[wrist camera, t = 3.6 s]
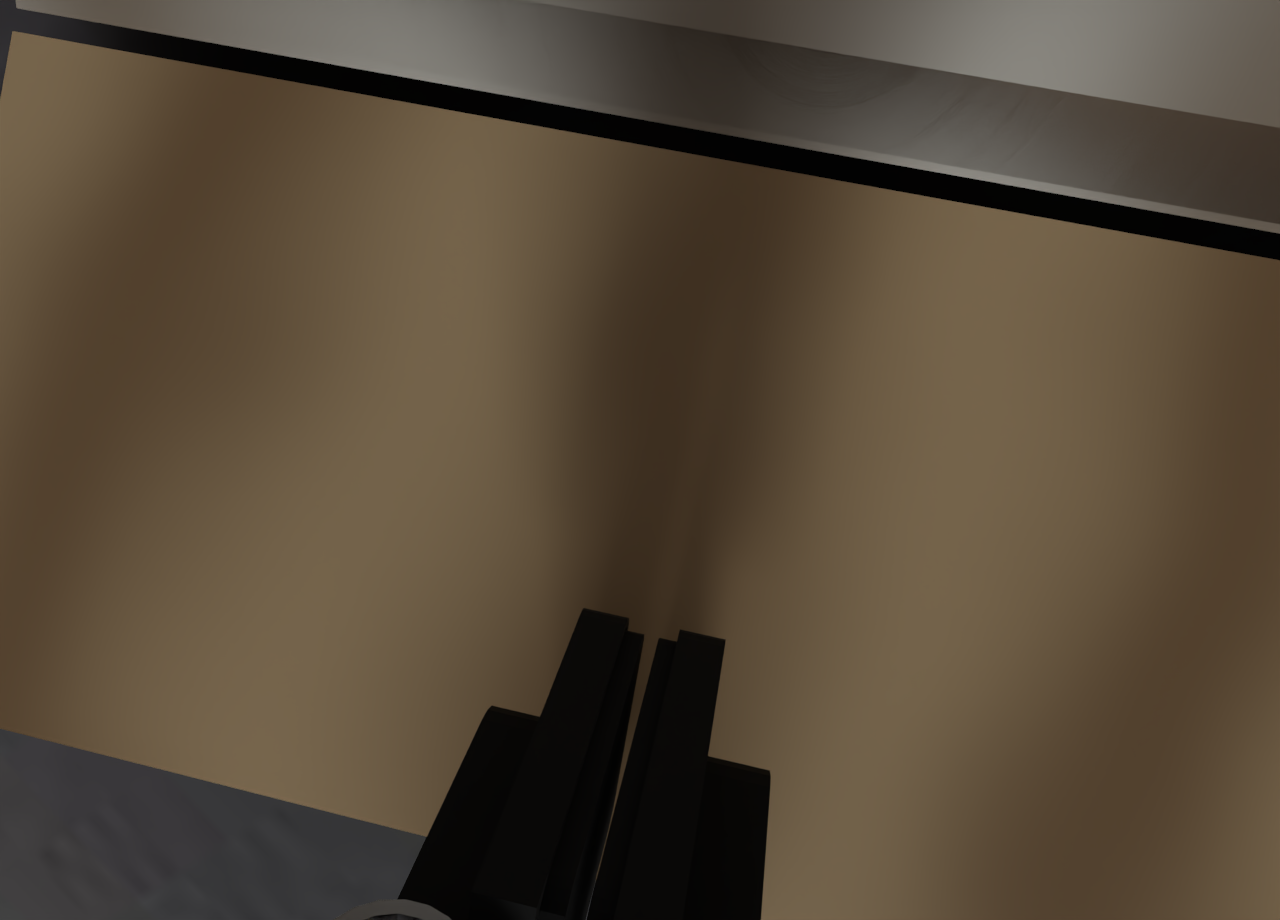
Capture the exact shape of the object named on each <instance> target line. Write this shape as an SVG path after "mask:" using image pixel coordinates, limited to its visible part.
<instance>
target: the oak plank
mask: <svg viewBox="0 0 1280 920" xmlns="http://www.w3.org/2000/svg"><path fill="white" fill-rule="evenodd" d="M583 608H587V609H591V610H596V611H600V612H605V613H609V614H614V615H618V616H622V617H627V618H629V627H628V631H632V632H636V633H640V634H644V642H643V648H642V653H641V659H640V664H639V670H638V675H637V681H636V686H635V692H634V697H633V703H632V708H631V714H630V719H629V725H628V730H627V736H626V741H625V747H624V752H623V758H622V763H621V769H620V774H619V780H618V785H617V791H616V796H615V802H614V807H613V812H612V817H613V813H614V809H615V806H616V802H617V798H618V794H619V790H620V786H621V782H622V778H623V775H624V771H625V767H626V763H627V759H628V755H629V751H630V747H631V744H632V740H633V736H634V732H635V728H636V724H637V720H638V716H639V713H640V709H641V705H642V701H643V697H644V693H645V689H646V685H647V682H648V678H649V674H650V670H651V666H652V662H653V658H654V654H655V651H656V647H657V643H658V639H659V638H663V639H667V640H672V641H676V642H677V639H678V635H679V631H680V629H681V630H685V631H690V632H694V633H699V634H703V635H708V636H712V637H717V638H721V639H726V642H725V649H724V656H723V662H722V668H721V675H720V681H719V688H718V694H717V701H716V707H715V714H714V720H713V727H712V733H711V739H710V746H709V752H708V756H710V757H714V758H719V759H723V760H727V761H731V762H736V763H740V764H744V765H748V766H753V767H757V768H761V769H766V770H770V775H771V783H770V799H769V814H768V828H767V842H766V856H765V870H764V884H763V898H762V912H761V920H1280V260H1275V259H1269V258H1264V257H1258V256H1253V255H1247V254H1242V253H1236V252H1231V251H1225V250H1220V249H1214V248H1209V247H1203V246H1198V245H1192V244H1187V243H1181V242H1176V241H1170V240H1164V239H1159V238H1153V237H1148V236H1142V235H1137V234H1131V233H1126V232H1120V231H1115V230H1109V229H1104V228H1098V227H1093V226H1087V225H1082V224H1076V223H1071V222H1065V221H1059V220H1054V219H1048V218H1043V217H1037V216H1032V215H1026V214H1021V213H1015V212H1010V211H1004V210H999V209H993V208H988V207H982V206H977V205H971V204H966V203H960V202H954V201H949V200H943V199H938V198H932V197H927V196H921V195H916V194H910V193H905V192H899V191H894V190H888V189H883V188H877V187H872V186H866V185H861V184H855V183H849V182H844V181H838V180H833V179H827V178H822V177H816V176H811V175H805V174H800V173H794V172H789V171H783V170H778V169H772V168H767V167H761V166H756V165H750V164H744V163H739V162H733V161H728V160H722V159H717V158H711V157H706V156H700V155H695V154H689V153H684V152H678V151H673V150H667V149H662V148H656V147H651V146H645V145H639V144H634V143H628V142H623V141H617V140H612V139H606V138H601V137H595V136H590V135H584V134H579V133H573V132H568V131H562V130H557V129H551V128H546V127H540V126H534V125H529V124H523V123H518V122H512V121H507V120H501V119H496V118H490V117H485V116H479V115H474V114H468V113H463V112H457V111H452V110H446V109H441V108H435V107H429V106H424V105H418V104H413V103H407V102H402V101H396V100H391V99H385V98H380V97H374V96H369V95H363V94H358V93H352V92H347V91H341V90H336V89H330V88H325V87H319V86H313V85H308V84H302V83H297V82H291V81H286V80H280V79H275V78H269V77H264V76H258V75H253V74H247V73H242V72H236V71H231V70H225V69H220V68H214V67H208V66H203V65H197V64H192V63H186V62H181V61H175V60H170V59H164V58H159V57H153V56H148V55H142V54H137V53H131V52H126V51H120V50H115V49H109V48H103V47H98V46H92V45H87V44H81V43H76V42H70V41H65V40H59V39H54V38H48V37H43V36H37V35H32V34H26V33H21V32H15V31H13V32H12V37H11V43H10V48H9V54H8V59H7V65H6V71H5V76H4V82H3V87H2V93H1V98H0V729H4V730H8V731H12V732H16V733H20V734H24V735H28V736H32V737H35V738H39V739H43V740H47V741H51V742H55V743H59V744H63V745H67V746H71V747H75V748H79V749H83V750H87V751H91V752H95V753H99V754H103V755H106V756H110V757H114V758H118V759H122V760H126V761H130V762H134V763H138V764H142V765H146V766H150V767H154V768H158V769H162V770H166V771H170V772H174V773H177V774H181V775H185V776H189V777H193V778H197V779H201V780H205V781H209V782H213V783H217V784H221V785H225V786H229V787H233V788H237V789H241V790H245V791H248V792H252V793H256V794H260V795H264V796H268V797H272V798H276V799H280V800H284V801H288V802H292V803H296V804H300V805H304V806H308V807H312V808H315V809H319V810H323V811H327V812H331V813H335V814H339V815H343V816H347V817H351V818H355V819H359V820H363V821H367V822H371V823H375V824H379V825H383V826H386V827H390V828H394V829H398V830H402V831H406V832H410V833H414V834H418V835H422V836H426V837H427V835H428V833H429V831H430V829H431V827H432V825H433V823H434V821H435V818H436V816H437V814H438V812H439V810H440V808H441V806H442V804H443V801H444V799H445V797H446V795H447V793H448V791H449V789H450V787H451V784H452V782H453V780H454V778H455V776H456V774H457V772H458V769H459V767H460V765H461V763H462V761H463V759H464V757H465V755H466V752H467V750H468V748H469V746H470V744H471V742H472V740H473V738H474V735H475V733H476V731H477V729H478V727H479V725H480V723H481V721H482V719H483V717H484V715H485V713H486V711H487V710H488V709H489V708H490V707H491V706H496V707H500V708H505V709H509V710H513V711H518V712H522V713H526V714H530V715H535V716H539V717H540V715H541V713H542V710H543V708H544V705H545V703H546V700H547V697H548V695H549V692H550V690H551V687H552V685H553V682H554V680H555V677H556V674H557V672H558V669H559V667H560V664H561V662H562V659H563V657H564V654H565V652H566V649H567V646H568V644H569V641H570V639H571V636H572V634H573V631H574V629H575V626H576V624H577V621H578V618H579V616H580V614H581V611H582V609H583ZM612 817H611V821H612ZM611 821H610V825H611ZM610 825H609V829H610ZM608 833H609V830H608ZM607 837H608V834H607ZM606 840H607V838H606ZM605 844H606V842H605ZM604 848H605V845H604ZM603 852H604V849H603ZM602 856H603V853H602ZM601 860H602V857H601ZM600 864H601V861H600ZM599 868H600V865H599ZM598 871H599V869H598ZM597 875H598V872H597ZM596 879H597V876H596Z"/></svg>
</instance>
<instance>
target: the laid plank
mask: <svg viewBox="0 0 1280 920" xmlns="http://www.w3.org/2000/svg"><path fill="white" fill-rule="evenodd" d="M16 6H17V8H19V9H25V10H30V11H36V12H41V13H47V14H53V15H58V16H64V17H69V18H75V19H81V20H86V21H92V22H97V23H103V24H109V25H114V26H120V27H125V28H131V29H137V30H142V31H148V32H153V33H159V34H165V35H170V36H176V37H181V38H187V39H193V40H198V41H204V42H209V43H215V44H221V45H226V46H232V47H237V48H243V49H249V50H254V51H260V52H265V53H271V54H277V55H282V56H288V57H293V58H299V59H305V60H310V61H316V62H321V63H327V64H333V65H338V66H344V67H349V68H355V69H361V70H366V71H372V72H377V73H383V74H389V75H394V76H400V77H405V78H411V79H417V80H422V81H428V82H433V83H439V84H445V85H450V86H456V87H461V88H467V89H473V90H478V91H484V92H490V93H495V94H501V95H506V96H512V97H518V98H523V99H529V100H534V101H540V102H546V103H551V104H557V105H562V106H568V107H574V108H579V109H585V110H590V111H596V112H602V113H607V114H613V115H618V116H624V117H630V118H635V119H641V120H646V121H652V122H658V123H663V124H669V125H674V126H680V127H686V128H691V129H697V130H702V131H708V132H714V133H719V134H725V135H730V136H736V137H742V138H747V139H753V140H758V141H764V142H770V143H775V144H781V145H786V146H792V147H798V148H803V149H809V150H814V151H820V152H826V153H831V154H837V155H842V156H848V157H854V158H859V159H865V160H870V161H876V162H882V163H887V164H893V165H898V166H904V167H910V168H915V169H921V170H926V171H932V172H938V173H943V174H949V175H954V176H960V177H966V178H971V179H977V180H983V181H988V182H994V183H999V184H1005V185H1011V186H1016V187H1022V188H1027V189H1033V190H1039V191H1044V192H1050V193H1055V194H1061V195H1067V196H1072V197H1078V198H1083V199H1089V200H1095V201H1100V202H1106V203H1111V204H1117V205H1123V206H1128V207H1134V208H1139V209H1145V210H1151V211H1156V212H1162V213H1167V214H1173V215H1179V216H1184V217H1190V218H1195V219H1201V220H1207V221H1212V222H1218V223H1223V224H1229V225H1235V226H1240V227H1246V228H1251V229H1257V230H1263V231H1268V232H1274V233H1279V234H1280V0H16Z"/></svg>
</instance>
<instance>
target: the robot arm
mask: <svg viewBox="0 0 1280 920" xmlns="http://www.w3.org/2000/svg"><path fill="white" fill-rule="evenodd" d="M628 627H629V618H627V617H622V616H618V615H614V614H609V613H605V612H600V611H596V610H591V609H587V608H583V609H582V611H581V614H580V616H579V618H578V621H577V624H576V626H575V629H574V631H573V634H572V636H571V639H570V641H569V644H568V646H567V649H566V652H565V654H564V657H563V659H562V662H561V664H560V667H559V669H558V672H557V674H556V677H555V680H554V682H553V685H552V687H551V690H550V692H549V695H548V697H547V700H546V703H545V705H544V708H543V710H542V713H541V715H540V717H539V716H535V715H530V714H526V713H522V712H518V711H513V710H509V709H505V708H500V707H496V706H491V707H490V708H489V709H488V710H487V711H486V713H485V715H484V717H483V719H482V721H481V723H480V725H479V727H478V729H477V731H476V733H475V735H474V738H473V740H472V742H471V744H470V746H469V748H468V750H467V752H466V755H465V757H464V759H463V761H462V763H461V765H460V767H459V769H458V772H457V774H456V776H455V778H454V780H453V782H452V784H451V787H450V789H449V791H448V793H447V795H446V797H445V799H444V801H443V804H442V806H441V808H440V810H439V812H438V814H437V816H436V818H435V821H434V823H433V825H432V827H431V829H430V831H429V833H428V835H427V838H426V840H425V842H424V844H423V846H422V848H421V850H420V852H419V855H418V857H417V859H416V861H415V863H414V865H413V867H412V870H411V872H410V874H409V876H408V878H407V880H406V882H405V884H404V887H403V889H402V891H401V893H400V895H399V897H398V899H397V900H378V901H374V902H371V903H368V904H364V905H361V906H357V907H354V908H352V909H351V910H349V911H347V912H346V913H344V914H342V915H341V916H339V917H337V918H335V919H334V920H585V919H586V915H587V911H588V907H589V903H590V899H591V896H592V899H591V903H590V908H589V912H588V917H587V920H761V912H762V898H763V884H764V870H765V856H766V842H767V828H768V814H769V799H770V783H771V775H770V770H766V769H761V768H757V767H753V766H748V765H744V764H740V763H736V762H731V761H727V760H723V759H719V758H714V757H710V756H708V752H709V746H710V739H711V733H712V727H713V720H714V714H715V707H716V701H717V694H718V688H719V681H720V675H721V668H722V662H723V656H724V649H725V642H726V639H721V638H717V637H712V636H708V635H703V634H699V633H694V632H690V631H685V630H681V629H680V631H679V635H678V639H677V642H676V641H672V640H667V639H663V638H659V639H658V643H657V647H656V651H655V654H654V658H653V662H652V666H651V670H650V674H649V678H648V682H647V685H646V689H645V693H644V697H643V701H642V705H641V709H640V713H639V716H638V720H637V724H636V728H635V732H634V736H633V740H632V744H631V747H630V751H629V755H628V759H627V763H626V767H625V771H624V775H623V778H622V782H621V786H620V790H619V794H618V798H617V802H616V806H615V809H614V813H613V817H612V812H613V807H614V802H615V796H616V791H617V785H618V780H619V774H620V769H621V763H622V758H623V752H624V747H625V741H626V736H627V730H628V725H629V719H630V714H631V708H632V703H633V697H634V692H635V686H636V681H637V675H638V670H639V664H640V659H641V653H642V648H643V642H644V634H640V633H636V632H632V631H628ZM611 817H612V821H611ZM610 821H611V825H610ZM609 825H610V829H609ZM608 830H609V833H608ZM607 834H608V837H607ZM606 838H607V840H606ZM605 842H606V844H605ZM604 845H605V848H604ZM603 849H604V852H603ZM602 853H603V856H602ZM601 857H602V860H601ZM600 861H601V864H600ZM599 865H600V868H599ZM598 869H599V871H598ZM597 872H598V875H597ZM596 876H597V879H596ZM595 880H596V883H595ZM594 884H595V887H594ZM593 888H594V891H593ZM592 892H593V895H592Z"/></svg>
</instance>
